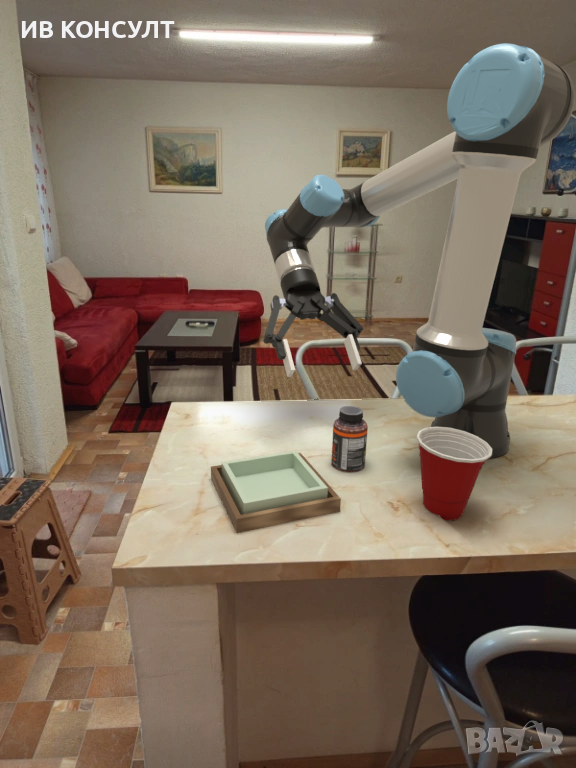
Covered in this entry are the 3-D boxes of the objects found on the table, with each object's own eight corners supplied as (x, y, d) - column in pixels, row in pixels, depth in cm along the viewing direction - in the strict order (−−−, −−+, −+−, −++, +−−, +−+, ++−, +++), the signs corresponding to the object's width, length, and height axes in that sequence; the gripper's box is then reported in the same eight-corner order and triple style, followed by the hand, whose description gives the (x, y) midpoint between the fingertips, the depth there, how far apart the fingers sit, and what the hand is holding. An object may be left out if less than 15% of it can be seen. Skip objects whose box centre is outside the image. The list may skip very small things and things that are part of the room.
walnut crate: (299, 467, 91) (300, 452, 90) (339, 516, 77) (340, 498, 76) (211, 482, 86) (210, 466, 85) (236, 537, 72) (236, 519, 71)
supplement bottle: (328, 460, 94) (331, 403, 90) (360, 460, 94) (364, 402, 91) (334, 477, 88) (337, 416, 84) (368, 476, 89) (372, 415, 85)
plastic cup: (487, 536, 73) (500, 460, 69) (409, 525, 75) (417, 452, 71) (476, 496, 83) (487, 428, 79) (408, 488, 85) (415, 421, 81)
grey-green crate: (295, 468, 89) (295, 450, 88) (326, 508, 78) (327, 487, 76) (222, 481, 85) (221, 462, 83) (244, 524, 73) (244, 503, 72)
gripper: (345, 287, 112) (375, 373, 103) (234, 291, 103) (257, 385, 95) (359, 265, 105) (391, 355, 97) (242, 267, 97) (266, 366, 88)
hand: (325, 370), depth 96 cm, fingers open, 13 cm apart
